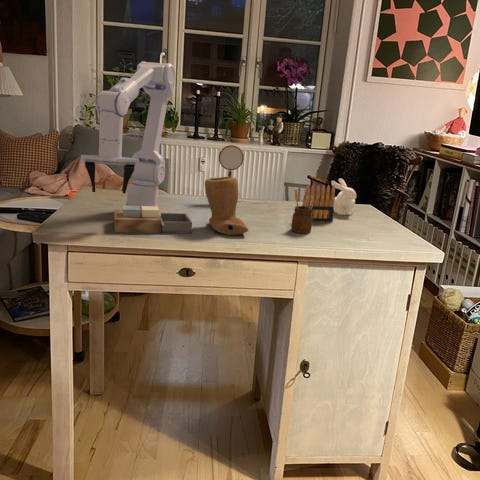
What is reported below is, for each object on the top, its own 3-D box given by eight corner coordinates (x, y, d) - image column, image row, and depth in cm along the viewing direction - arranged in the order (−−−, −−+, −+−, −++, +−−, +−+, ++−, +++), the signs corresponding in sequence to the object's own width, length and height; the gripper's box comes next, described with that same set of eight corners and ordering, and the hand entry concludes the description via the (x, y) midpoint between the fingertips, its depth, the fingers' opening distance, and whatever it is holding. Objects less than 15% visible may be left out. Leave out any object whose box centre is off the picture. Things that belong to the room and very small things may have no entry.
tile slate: (122, 216, 134) (123, 209, 134) (122, 212, 138) (122, 205, 138) (140, 217, 135) (140, 209, 135) (139, 212, 139) (139, 205, 139)
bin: (161, 232, 135) (162, 222, 134) (158, 222, 144) (158, 212, 144) (191, 233, 137) (192, 222, 136) (186, 223, 146) (186, 213, 146)
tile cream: (142, 217, 135) (142, 209, 135) (141, 213, 140) (141, 205, 139) (159, 217, 137) (159, 210, 136) (157, 213, 141) (157, 206, 140)
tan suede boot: (200, 221, 150) (203, 171, 146) (239, 223, 152) (244, 173, 148) (205, 236, 136) (208, 181, 132) (248, 237, 138) (253, 183, 134)
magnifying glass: (239, 202, 181) (244, 145, 175) (239, 203, 179) (244, 146, 173) (215, 200, 179) (219, 144, 174) (215, 201, 178) (219, 144, 172)
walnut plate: (114, 232, 132) (114, 219, 131) (114, 222, 141) (114, 209, 140) (160, 232, 135) (161, 220, 134) (157, 222, 144) (157, 211, 143)
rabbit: (354, 217, 173) (359, 183, 170) (327, 214, 174) (331, 179, 171) (352, 210, 184) (357, 177, 181) (326, 207, 186) (331, 174, 182)
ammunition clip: (330, 220, 165) (335, 184, 162) (332, 222, 164) (337, 185, 160) (299, 219, 163) (304, 183, 159) (301, 221, 161) (306, 184, 158)
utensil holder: (305, 235, 146) (311, 194, 142) (286, 230, 149) (291, 190, 145) (314, 231, 150) (319, 191, 147) (295, 227, 153) (299, 188, 150)
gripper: (81, 138, 124) (79, 193, 127) (141, 143, 128) (138, 196, 131) (81, 136, 130) (80, 188, 133) (138, 141, 135) (135, 191, 138)
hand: (108, 192), depth 133 cm, fingers open, 7 cm apart
